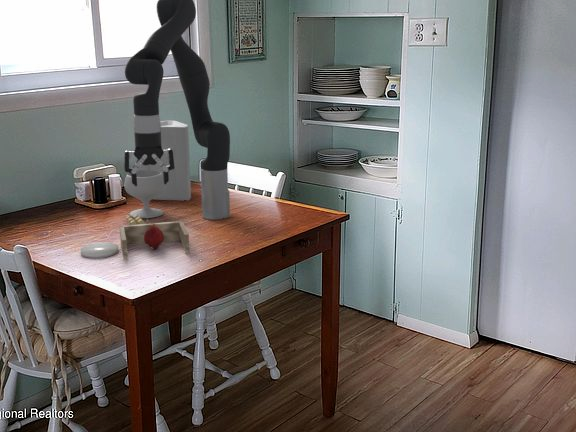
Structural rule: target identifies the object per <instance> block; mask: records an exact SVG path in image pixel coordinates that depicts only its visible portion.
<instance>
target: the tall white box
mask: <svg viewBox="0 0 576 432" xmlns="http://www.w3.org/2000/svg"><path fill="white" fill-rule="evenodd" d="M160 125H161V146H162V149H163V150H166V149H169V148H171V149H172V151H173V158H174V167H175V168H174V169H173V170H170V171H169V172H168V174H169V181H168V182H167V184H165V188H164V190H163V192H162V193H160V194H159V195H157V196H155V197H154V198H152V199H151V200H160V201H184V200H187V201H190V199H191V198H192V194H191V193H192V190H191V189H192V187H191V186H192V185H191V165H190V161H191V160H190V139H189V125H188V124H186V123H183V122H180V121H177V120H162V121H161V120H160ZM160 159H161V161H162V162H163V163H164V164H165V165H166V166H168V165H169V157H167V156H166V154H163V155H162V157H161V158H160ZM138 170H157V171H160V172H161V173H162V175H163V171H164V170H163V169H162V168H161V167H160V165H159V164H158V163H157V164H155V165H143V164H142V165H141V166H140V168H138Z"/></svg>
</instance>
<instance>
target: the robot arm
mask: <svg viewBox="0 0 576 432" xmlns="http://www.w3.org/2000/svg"><path fill="white" fill-rule="evenodd" d="M156 2H157V3H156V14H157V18H158V21H159V24H160V27H159V28H157V29H156V30H155V31H154V32H153V33H152V34H151V35H150V36H149V37H148V39H147V40H146V42H145V44H144V46H143V47H142V48H141V49H140V50H138V51H137V52H136V53H135V54H134V55H133V56H131V57H130V58H129V59H128V61H127V63H126V65H125V66H124V75H125V79H126V80H127V82H128V83H130V84H132V85H139V86H140V85H143V86H144V85H145V86H147V90H146V91H145V92H140V93H137V94H135V95H133V99H132V100H133V101H132V103H133V132H134V149H133V151H132V150H124V158H123V159H124V167H123V168H124V171H125V173H131V177H132V184H134V185H135V186H137V174H136V171H137V170H139V169H138V168H140V166H141V165H142V164H143V165H155V164H157V163H158V164H159V165H160V167H161V168H162V169H163V170H164V171H163V181H164V184H167V182H168V181H169V174H168V172H169V171H170V170H173V169H174V168H175V167H174V158H173V151H172V149H171V148H169V149H166V150H163V149H162V146H161V125H160V121H161V118H160V106H159V105H160V104H159V101H160V100H159V99H160V92H161V86H162V83H163V79H164V67H163V64H164V62H166V59H167V57H168V56H169V53H170V52H171V55H172V57H173V58H172V59H173V61H174V64H175V68H176V71H177V75H178V79H179V82H180V85H181V88H182V91H183V94H184V98H185V101H186V105H187V107H188V111H189V115H190V120H191V124H192V126H191V127H192V130H193V135H194V139H195V140H196V143H198V145H199V146H201V147H203V148H206V150H207V154H206V155H207V156H206V157H205V158H203V159H201V160H200V163H199V164H200V166H199V167H200V189H201V191H200V192H201V193H200V194H201V215H202V218H203V219H206V220H215V221H216V220H223V218H224V219H226V218H230V217H231V206H230V205H231V198H230V190H229V180H228V179H229V178H228V176H229V175H228V174H229V172H228V164H229V161H230V157H231V156H230V155H231V153H230V149H231V135H230V130H229V128H228V126H227V125H226V124H224V123H223V122H218V121H213V119H212V115H211V113H210V109H209V106H208V105H209V102H208V99H209V95H210V85H211V84H210V77H209V75H208V71H207V68H206V67H207V66H206V65H205V63H204V60H203V59H202V58H201V57H200V56H199V55H198V53H197V52H195V50H193V48H191V47H190V45H188V44H187V42H186V40H185V39H184V38H183V36H182V35H183V34H184V33H185V32H186V31H187V29H189V28H190V26H191V25H192V24H193V23H194V21H195V19H196V16H197V15H196V14H197V8H196V5H195V2H194V0H157V1H156ZM163 154H166V156H167V157H169V165H168V166H166V165H165V164H164V163H163V162H162V161H161V159H160V158H161V157H162V155H163ZM133 156H134V157H135V158H136V159H137V160H136V161H135V162H134V164H133V166H132V167H130V160H131V159H132V157H133Z"/></svg>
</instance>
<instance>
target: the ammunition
mask: <svg viewBox="0 0 576 432" xmlns="http://www.w3.org/2000/svg"><path fill="white" fill-rule="evenodd" d="M125 220H126V221H127V223H128V225H139V224H152V222H151V221H150V220H149V218H145V219H144V220H143V218H140V217H138V215H134V216H133V217H131V216H130V215H127V216H125Z"/></svg>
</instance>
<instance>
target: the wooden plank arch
mask: <svg viewBox="0 0 576 432" xmlns="http://www.w3.org/2000/svg"><path fill="white" fill-rule="evenodd" d="M152 224H156V227H158V228H159V229H160V230H161V231H162V232H163V235H164V240H163V242H162V243H168V242H180V243H181V246H182V248H183V251H184V254H185V255H190V254H191V253H190V234H189V232H188V230H187V228H186V226H185V224H184V222H183V220H178V221H167V222H164V221H163V222H155V223H153V222H151V224H139V225H129V224H128V225H119V237H120V239H119V241H120V247H121V253H122V258H123V261H125V260H129V258H128V246H133V245H134V246H135V245H147V244H146V243H145V241H144V235H145V232H146V231H147V229H148V228H150V227H151V225H152Z"/></svg>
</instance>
